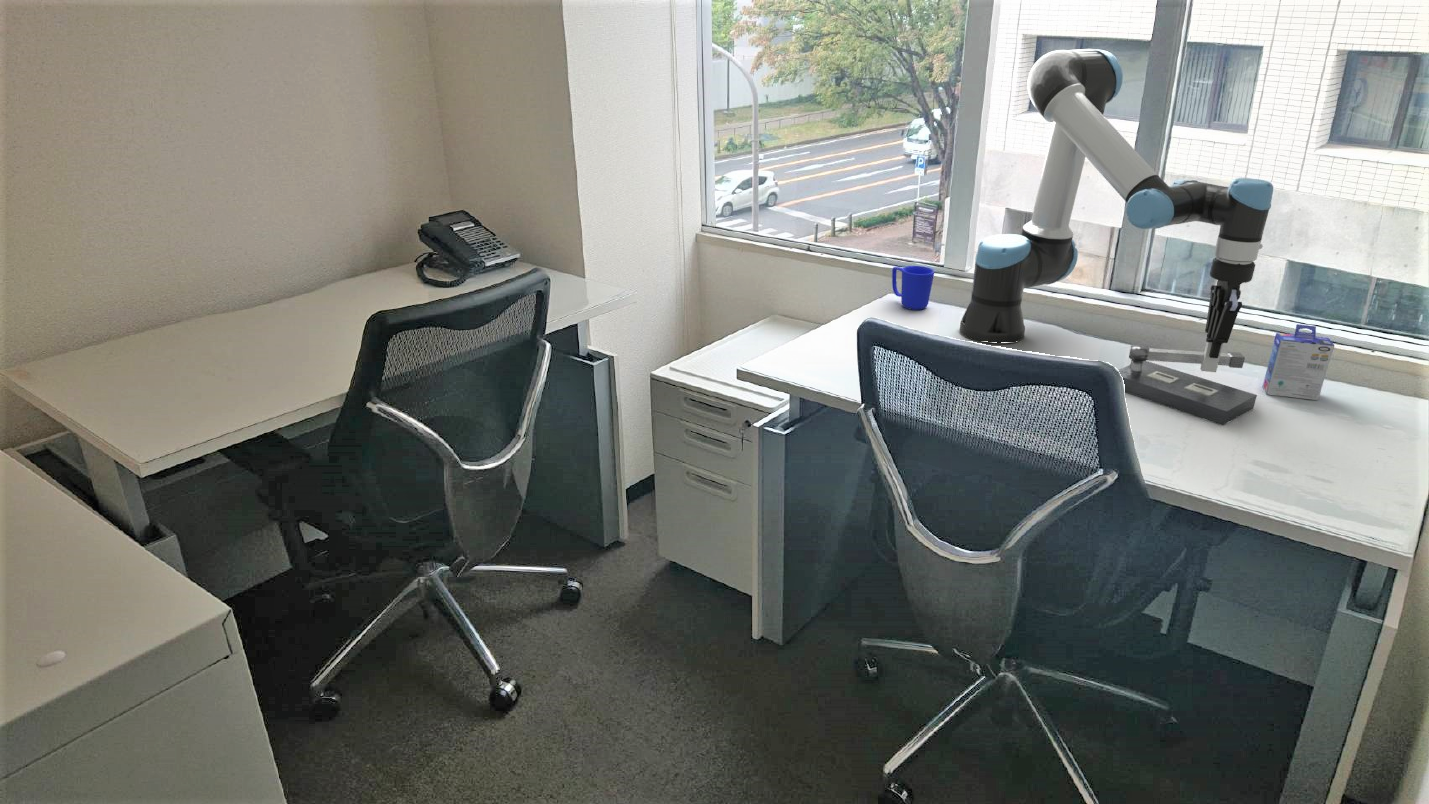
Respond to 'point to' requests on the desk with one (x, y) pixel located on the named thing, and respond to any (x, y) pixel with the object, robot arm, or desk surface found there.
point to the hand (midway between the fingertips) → (1208, 370)
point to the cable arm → (1182, 356)
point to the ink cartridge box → (1298, 364)
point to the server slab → (1186, 392)
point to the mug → (914, 286)
